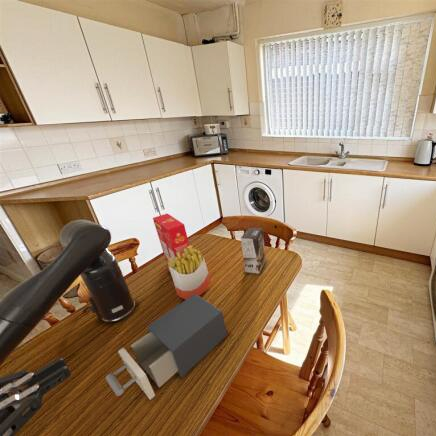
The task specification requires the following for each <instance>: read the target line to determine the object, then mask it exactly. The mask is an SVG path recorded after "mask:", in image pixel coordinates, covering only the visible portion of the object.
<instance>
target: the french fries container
mask: <svg viewBox="0 0 436 436" xmlns="http://www.w3.org/2000/svg"><path fill="white" fill-rule="evenodd" d="M187 249H188V251H189V253H188V251H187ZM187 249H186V248H185V249H184V252H185V253H183V254H182V257H183V258H181V256H180V253H179V252H178V253H177V257H178V258H177V257H174V260H175V263H174V261H173V259H172V258H169V259H168V262H169V264H170V266H169V269H170V272H171V273H170V272H169V273H170V275H171V278H172V281H173V284H174V288H175V292H176V295H177V296H178V297H180V298H181V299H183V300H184V301H185V300H186V299H188V298H189V297H191V296H192V295H194V294H197V295H198V296H200V297H201V295H202V294H203V293H205V292H206V291H207V289H208V287H209V286H210V283H211V278H210V274H209V270H208V266H207V264H206V261H205V258H204V256H203V254H202V252H201V251H200V250H197V249H196V248H194V247H193V245H192V244H191V245H190V244H189V246H188V247H187ZM178 260H179V261H178ZM169 269H168V270H169Z"/></svg>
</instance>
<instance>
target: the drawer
mask: <svg viewBox="0 0 436 436" xmlns="http://www.w3.org/2000/svg"><path fill="white" fill-rule="evenodd" d="M130 347H131V349H132V351H133V353H134V356H135V358H136V360H137V362H136V360H134V358H133V357H132V356H131V355H130V353H129V352H128V351H127V350H126V349H125V347H122V348H120V349H119V350H117V352H118V355H119V357H120V358H121V360H122V362H123V365H122V366H121V367H119V368H118V369H117V370H115V371H114V372H113V373H112V372H110V373H108V374H107V375H106V376H105V380H106V382H107V384H108V385H109V387H110V388H111V389H112V391H113V392H114V394H115V396H117V397H119V396H122V395H123V393H124V392H125V390H126V389H127V388H128V387H129V386H130V385H132V384H133V383H136V384H137V385H138V386H139V388H140V389H141V390H142V391H143V393H144V394H145V396H147V398H148V399H149V400H150V401H151V400H152V399H153V398H154V397H155V396H156V393H155V391H154V389H153V386H152V385H151V382H150V380H149V378H150V379H151V380H152V381H153V382H154V384H155V386H157V387H158V388H161V387H162V386H163V385H164V384H165V383H167V382H168V381H169V380H170V379H171V378H172V377H174V375H175V374H177V371H178V369H177V366H176V363H175V361H174V358H173V355H172V352H171V351H170V350H169V349H168V348H167V347H166V346H165V345H164V344H163V343H162V342H161V341H159V340H158V339H157V338H156V337H155V336H154V335H153V334H152V333H151V332H147V333H146V334H145V335H143V336H142V337H140V338H139V339H137V340H136V341H134V342H133V343H132V344H130ZM125 369H126V370H127V372H128V373H129V375H130V376H131V379H129V380H128V381H127V382H126V383H125V384H123V385H122V384H121V383H120V382H119V380H118V379H117V378H116V376H117V375H118V374H120V373H121V372H122V371H124V370H125ZM147 375H148V376H149V378H148V376H147Z"/></svg>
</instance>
